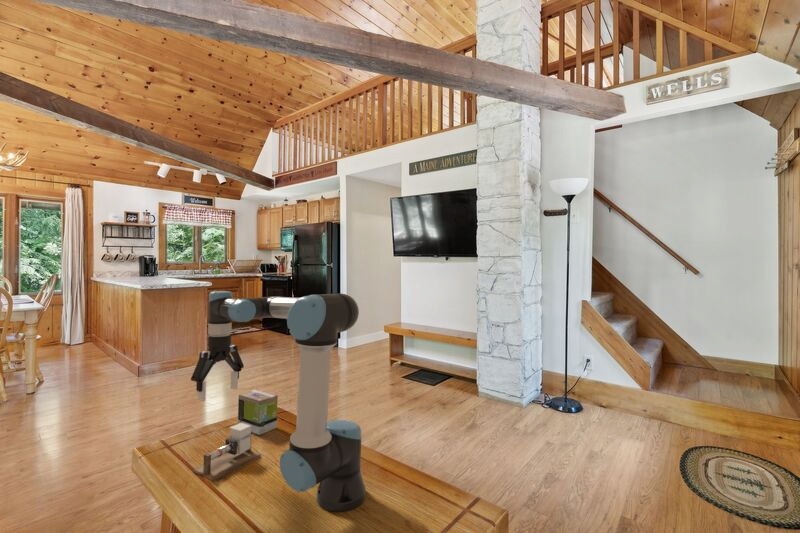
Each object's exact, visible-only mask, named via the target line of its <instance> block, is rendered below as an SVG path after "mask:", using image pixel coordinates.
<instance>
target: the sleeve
mask: <svg viewBox="0 0 800 533" xmlns="http://www.w3.org/2000/svg"><path fill="white" fill-rule="evenodd" d="M229 439H232V440H236V441H238V447H237V448H238V454H241V453H243V452H245V451H247V450H248V449H250V447H251V448H252V432H251V426H250V425H247V424H243V423H239V424H238V423H237V424H235V425H233V426H230V427H229ZM229 444H230V442H229ZM232 451H233V450H232Z"/></svg>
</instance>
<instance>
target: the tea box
mask: <svg viewBox="0 0 800 533" xmlns="http://www.w3.org/2000/svg"><path fill="white" fill-rule="evenodd" d="M278 401H279V400H278V395H277V394H275V393H271V392H267V391H264V390H261V389H257V388H256V389H252V390H249V391H246V392H243V393H239V394H238V403H237V404H238V405H237V406H238V407H237V409H238V410H237V411H238V412H237V424H239V423H243V424H247V425H250V426H251V433H253V434H255V435H258V436H260V435H263V434H266V433H268V432H270V431H273V430H275V429H277V427H278Z"/></svg>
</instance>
